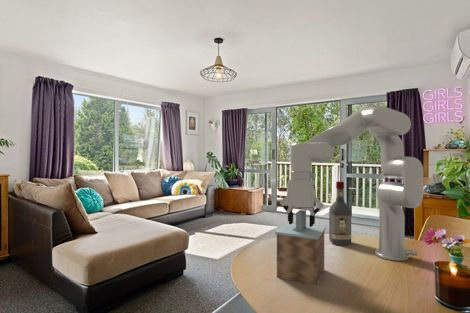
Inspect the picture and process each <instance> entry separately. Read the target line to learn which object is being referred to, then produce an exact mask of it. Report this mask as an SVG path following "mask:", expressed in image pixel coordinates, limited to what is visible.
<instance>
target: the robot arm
mask: <svg viewBox="0 0 470 313" xmlns="http://www.w3.org/2000/svg"><path fill="white" fill-rule="evenodd" d="M411 126H412V123H411V118H410V117H409V116H408V115H407V114H405V113H404V112H401V111H398V110H396V109H392V108H389V107H386V106H382V105H374V106H370V107H365V108H360V109H358V110H356V111H355V112H352V113H351V115H349V116H347V117H346V118H345V119H343V120H342V121H340V122H339V123H337V124H336V125H334V126H332V127H329V128H327V129H326V130H324V131H321V132H319V133H318V134H315V135H313V136H312V137H310V138H309V139H308V140H306V141H305V142H293V143H292V144H291V145H290V179H288V183H287V189H286V191H287V192H286V196H285V197H284V198H282V199H281V200H280V201H279V204H280V206H281V207H283V209H284V211H285V212H286V213H287V222H288V223H289V224H292V223H294V212H293V210H294V208H301V209H308V211H309V213H310V215H309V225H310V227H312V226H313V225H315V223H316V221H315V220H316V219H315V218H316V214H317V213H319V212H320V211H321V209H323V207H325V206H324V205H325V204H324V203H323V202H322V201H321V200H319V199H318V197H317V190H316V189H317V188H316V184H315V180H314V179H313V178H316V176H317V174H316V173H313V169H312V168H313V163H327V162H329V161H330V160H332V159H333V158H334V155H335V149H334V148H335V147H340V146H344V145H346V144H349V143H351V142H353V141H354V140H355V139H357V138H358V137H359V136H361V135H362V134H363V133H364V132H366V131H367V130H368V131H369V133H370V134H371V135H372V136H374V137H375V139H376V140H377V141H378V143H379V146H380V172H381V175H382V176H383V177H385V178H387V179H390V180H401V181H403V182H398V181H397V182H395V181H384V182H381V183H380V184H379V185H378V186H377V188H376V197H377V198H376V199H377V202H378V203H377V204H378V211H379V212H378V223H379V224H378V247H379V248H377V249H375V250H374V254H375V255H376V257H379V258H382V259H385V260H387V261H388V260H389V261H395V262H397V261H399V262H401V261H403V262H404V261H407V260H409V258H410V257H409V255H410V256H411V255H412V256H416V257H417V256H418V255H419V253H418V250H414V249H411V248H407V247H406V245H405V221H406V220H405V212H404V209H403V208H409V209H415V208H418V207H420V205H422V203H423V199H424V166H423V164H422V162H421V161H420V159H418V158H416V157H413V156H405V152H404V143H403V141H402V139H401V138H400V136H401V135H402V136H403V135H406V134H407V133H408V132H410V130H411ZM316 205H317V207H316V208H315V206H316ZM402 207H403V208H402Z"/></svg>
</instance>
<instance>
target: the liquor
mask: <svg viewBox="0 0 470 313" xmlns="http://www.w3.org/2000/svg"><path fill="white" fill-rule="evenodd" d="M344 182H345V181H336V183H335V185H336V186H335V187H336V188H335V189H336V199H335V201H334V202H333V203H332V204H331V205H330V207H329V209H328V214H329V215H328V217H329V218H328V220H329V222H328V223H329V224H328V228H329V229H328V230H329V233H328V236H329V237H328V238H329V242H330V243H331V244H332V245H334V246H347V247H348V246H350V245H351V244H352V210H351V208H350V207H349V206H348V205H347V203H346V202H345V199H344V195H345V194H344V188H345V183H344Z"/></svg>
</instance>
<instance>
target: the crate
mask: <svg viewBox="0 0 470 313" xmlns="http://www.w3.org/2000/svg"><path fill="white" fill-rule="evenodd" d="M324 271H325V231H324V232H323V233H322V235H321V236H320V238H319V239H318V240H317V239H309V238H302V237H294V236H287V235H280V234H276V277H277V278H281V279H285V280H291V281H295V282H300V283H306V284H310V285H315V286H318V283H319V281H320V280H321V278H322V275H323V273H324Z"/></svg>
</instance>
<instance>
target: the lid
mask: <svg viewBox="0 0 470 313" xmlns="http://www.w3.org/2000/svg"><path fill="white" fill-rule="evenodd" d="M326 229H327V226H323V225H322V226H321V225H315V224H313V226H312V227H310V224H307V209H299V210H298V211H296V212H295V222H293V223H292V224H289V221H287V222H285V224H283V225H282V226H280V227H279V228H277V229H276V230H275V231H274V235H277V234H280V235H287V236H294V237H302V238H309V239H317V240H318V239H319V238H320V236H321V235H322V233H323V232H324V233H325V230H326Z"/></svg>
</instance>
